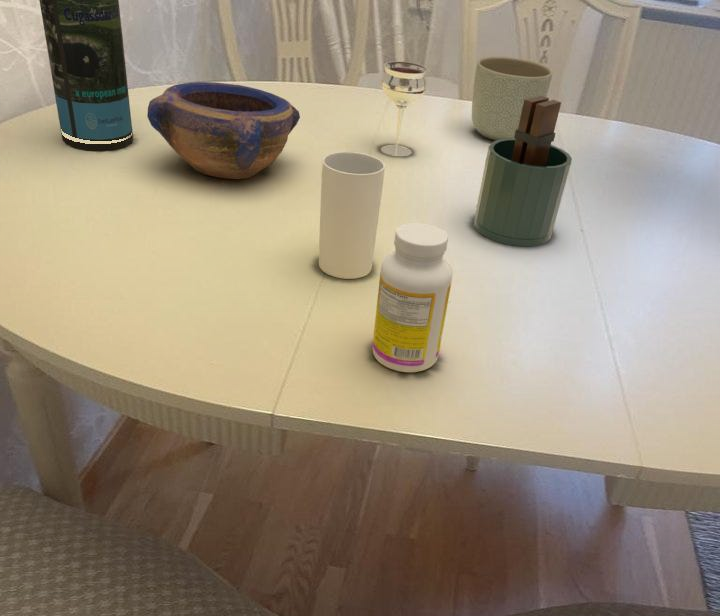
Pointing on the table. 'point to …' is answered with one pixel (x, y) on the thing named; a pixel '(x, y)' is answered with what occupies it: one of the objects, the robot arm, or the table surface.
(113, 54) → the advertising column
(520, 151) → the tongs
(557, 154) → the crock
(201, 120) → the bowl
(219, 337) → the table surface
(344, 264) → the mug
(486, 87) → the planter
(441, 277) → the supplement bottle
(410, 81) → the wineglass
